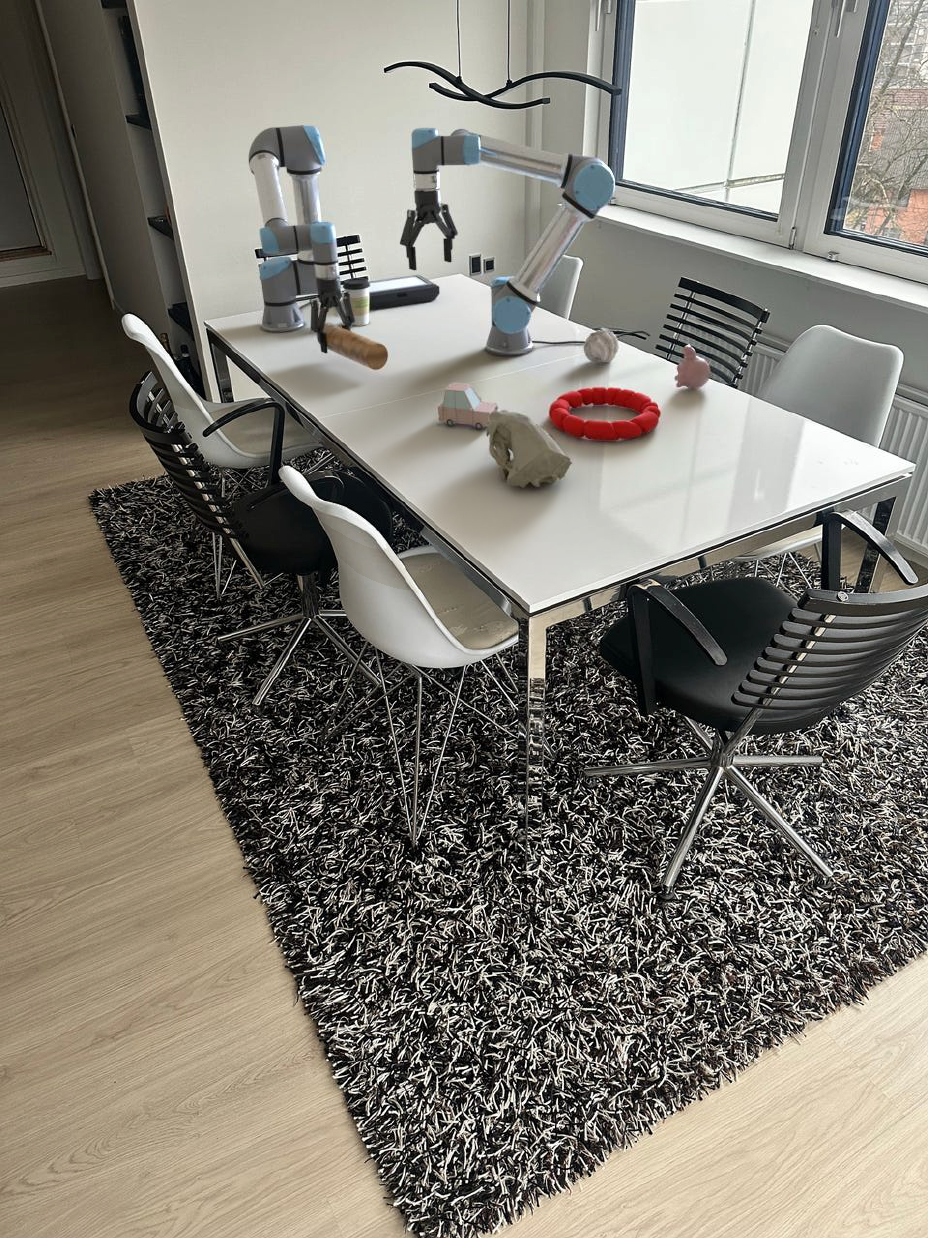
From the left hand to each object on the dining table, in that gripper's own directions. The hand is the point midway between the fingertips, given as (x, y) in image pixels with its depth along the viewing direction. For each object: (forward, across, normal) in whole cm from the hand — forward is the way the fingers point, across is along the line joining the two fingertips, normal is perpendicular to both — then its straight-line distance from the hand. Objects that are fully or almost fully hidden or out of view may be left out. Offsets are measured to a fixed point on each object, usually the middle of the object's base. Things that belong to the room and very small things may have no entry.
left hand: (335, 348), depth 290 cm
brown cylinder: (+1, 0, -10) cm, 10 cm away
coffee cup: (+5, +30, +30) cm, 43 cm away
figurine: (+3, +61, -96) cm, 114 cm away
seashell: (+3, +61, -61) cm, 86 cm away
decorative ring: (+2, +24, -96) cm, 99 cm away
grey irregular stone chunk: (+2, -13, -102) cm, 103 cm away
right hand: (-27, +22, -24) cm, 42 cm away
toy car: (+3, -3, -70) cm, 71 cm away
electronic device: (+6, +57, +46) cm, 73 cm away
